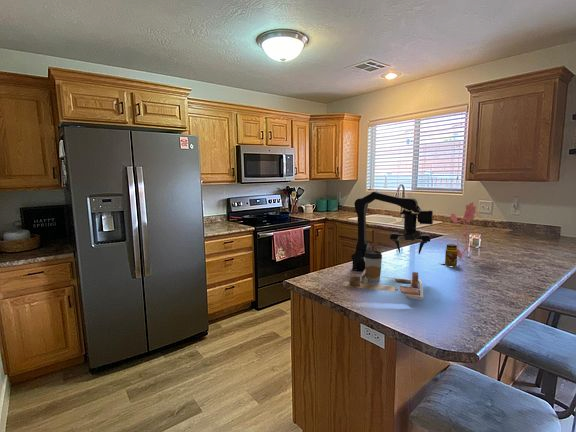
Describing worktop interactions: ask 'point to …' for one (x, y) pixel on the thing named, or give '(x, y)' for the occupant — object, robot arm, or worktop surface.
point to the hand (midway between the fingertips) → (409, 253)
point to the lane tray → (408, 294)
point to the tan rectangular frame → (413, 282)
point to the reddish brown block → (409, 291)
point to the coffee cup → (373, 265)
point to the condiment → (451, 255)
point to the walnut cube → (354, 280)
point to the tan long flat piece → (372, 286)
